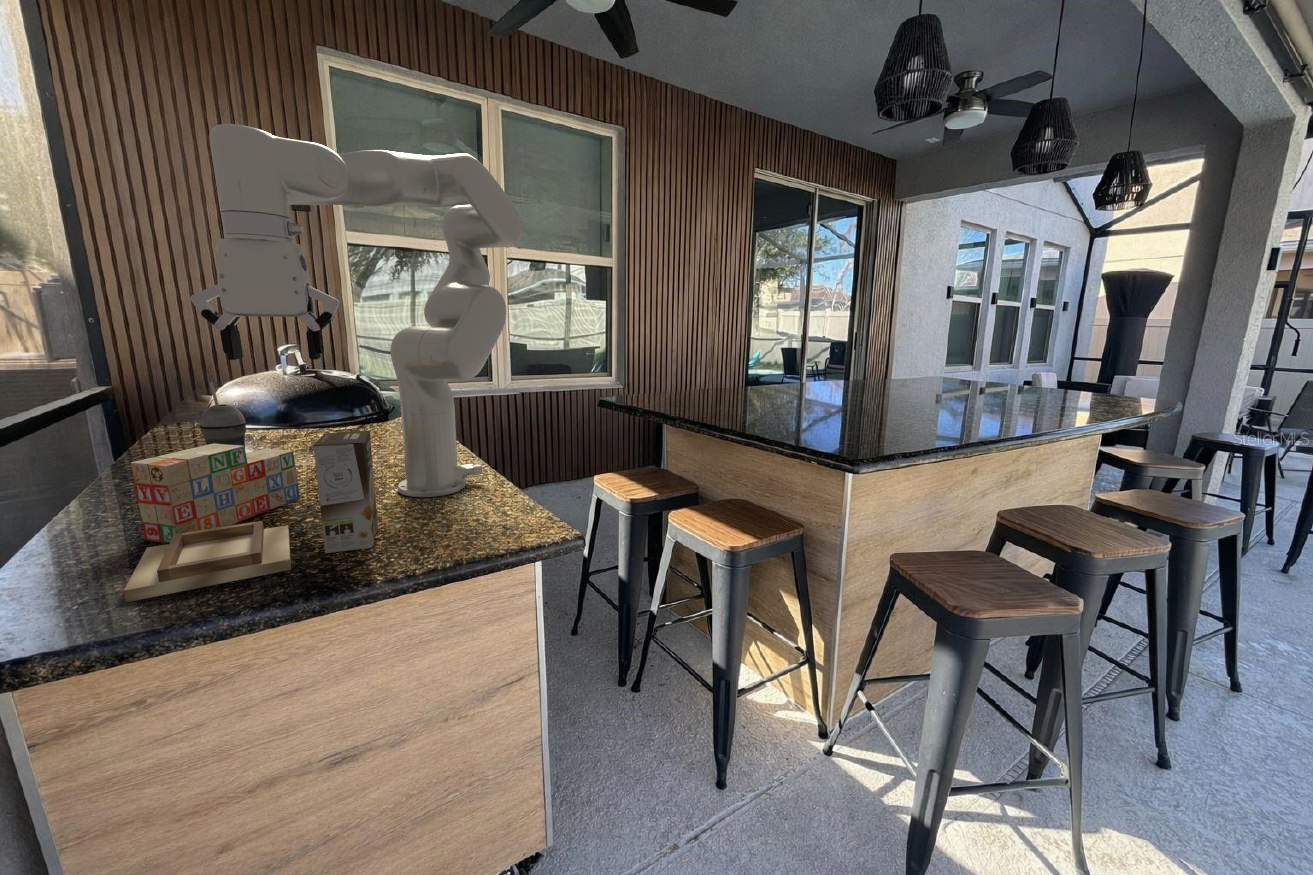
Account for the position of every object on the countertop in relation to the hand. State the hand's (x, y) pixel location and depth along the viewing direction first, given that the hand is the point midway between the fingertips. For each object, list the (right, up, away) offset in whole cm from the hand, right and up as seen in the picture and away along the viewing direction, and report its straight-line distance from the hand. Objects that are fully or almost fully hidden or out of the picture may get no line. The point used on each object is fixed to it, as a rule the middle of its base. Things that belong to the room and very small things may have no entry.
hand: (276, 358), depth 75 cm
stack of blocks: (-17, -25, +13) cm, 33 cm away
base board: (-6, -28, -3) cm, 29 cm away
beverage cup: (-31, -20, +31) cm, 49 cm away
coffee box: (+8, -27, +6) cm, 29 cm away
